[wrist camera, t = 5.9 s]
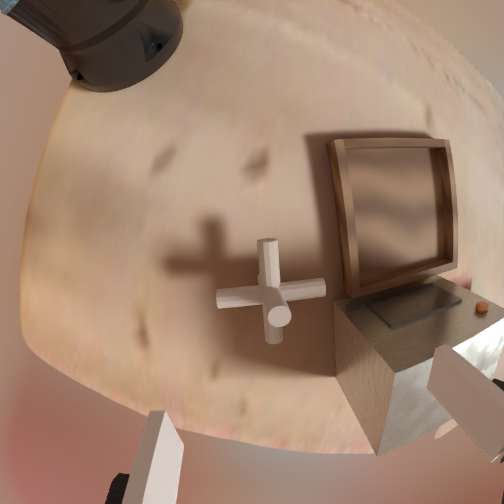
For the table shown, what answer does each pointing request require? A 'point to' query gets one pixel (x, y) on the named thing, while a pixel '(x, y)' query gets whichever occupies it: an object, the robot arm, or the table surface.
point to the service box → (409, 353)
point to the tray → (394, 210)
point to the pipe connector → (271, 292)
